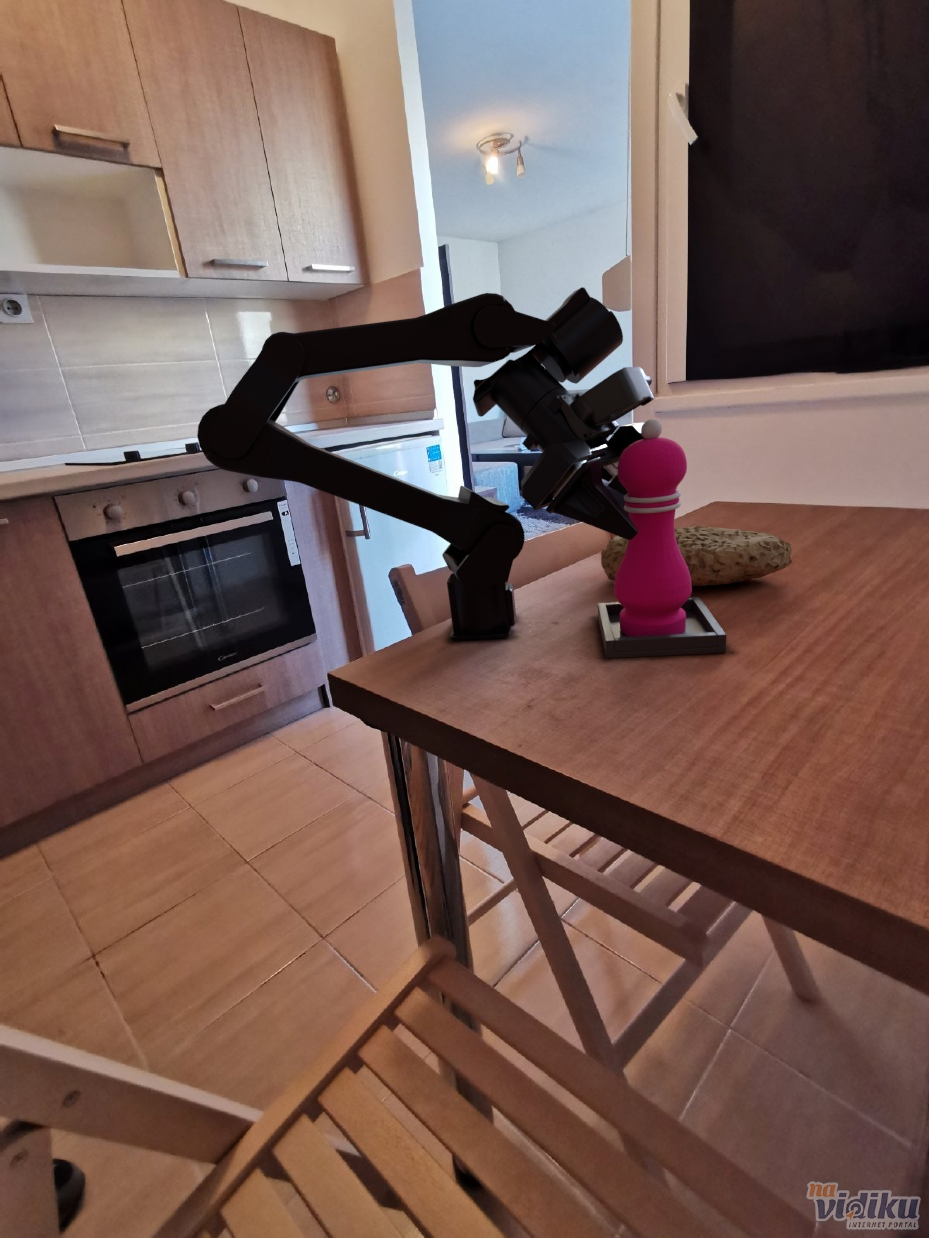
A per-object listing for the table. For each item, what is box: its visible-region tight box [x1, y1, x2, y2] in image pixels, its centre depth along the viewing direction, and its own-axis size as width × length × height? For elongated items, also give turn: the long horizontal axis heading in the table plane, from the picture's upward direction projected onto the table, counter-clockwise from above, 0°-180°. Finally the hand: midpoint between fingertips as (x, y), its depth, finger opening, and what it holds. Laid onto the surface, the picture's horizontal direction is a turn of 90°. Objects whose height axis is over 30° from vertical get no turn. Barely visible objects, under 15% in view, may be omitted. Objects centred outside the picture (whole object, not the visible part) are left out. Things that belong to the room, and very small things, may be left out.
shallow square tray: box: [597, 596, 728, 659], centre depth 59 cm, size 11×11×2 cm
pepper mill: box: [613, 419, 693, 637], centre depth 55 cm, size 7×7×20 cm
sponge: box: [600, 525, 793, 587], centre depth 71 cm, size 13×8×20 cm
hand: (654, 524), depth 55 cm, fingers open, 9 cm apart
